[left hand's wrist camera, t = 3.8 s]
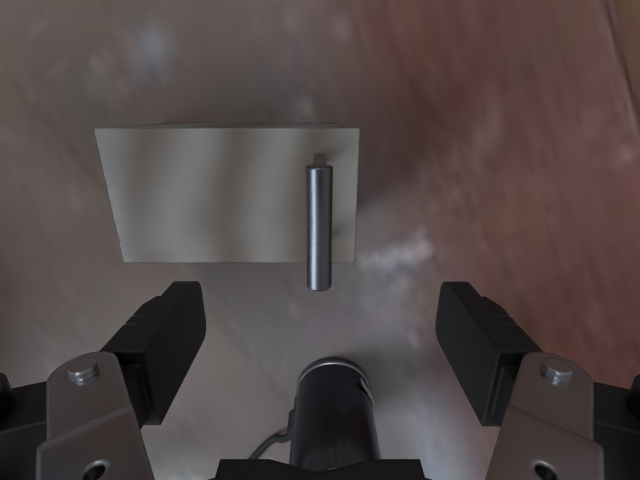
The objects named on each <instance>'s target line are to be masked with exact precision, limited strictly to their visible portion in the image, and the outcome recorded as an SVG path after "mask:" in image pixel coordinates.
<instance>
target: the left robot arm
mask: <svg viewBox="0 0 640 480" xmlns="http://www.w3.org/2000/svg"><path fill="white" fill-rule="evenodd" d="M205 333H206V318H205V311H204V304H203V297H202V290H201V285H200V283H199V282H198V281H174V282H173V283H172V284H171V285H170V286H169V287H168V289H167V290H166V291H165V292H164V293H163V294H162V296H156V297H154V298H153V299H151V300H149V301H148V302H146V303H144V304H143V305H142V306H141V307H140V308H139V309H138V310H137V311H136V312H135V313H134V314H133V317H131V318H130V319H129V320H128V321H127V322H126V325H123V326H122V327H121V328H120V330H119V331H118V332H117V333H116V334H115V335H114V336H113V337H112V338H111V339H110V340H109V341H108V343H107V344H106V345H105V346H104V347H103V348H102V349H101V350H100V351H99V352H92V353H87V354H84V355H81V356H78V357H76V358H74V359H71V360H69V361H68V362H66V363H64V364H63V365H61V366H60V367H58V368H57V369H56V370H55V371H54V372H53V373H52V374H51V375H50V377H49V378H48V380H47V381H46V382H41V383H36V384H31V385H27V386H22V387H17V388H13V389H11V386H10V384H9V381H8V379H7V377H6V375H5V374H3V373H0V480H155V479H154V475H153V472H152V469H151V465H150V462H149V459H148V455H147V452H146V449H145V445H144V442H143V439H142V435H141V432H140V430H141V428H142V426H143V425H161V423H162V421H163V419H164V417H165V415H166V413H167V411H168V409H169V407H170V405H171V403H172V401H173V399H174V398H175V396H176V394H177V392H178V390H179V388H180V386H181V384H182V382H183V380H184V378H185V376H186V374H187V372H188V370H189V368H190V366H191V364H192V362H193V360H194V358H195V356H196V354H197V352H198V350H199V349H200V347H201V345H202V343H203V341H204V338H205ZM436 335H437V339H438V342H439V344H440V346H441V348H442V350H443V351H444V353H445V355H446V357H447V359H448V361H449V363H450V365H451V367H452V369H453V371H454V373H455V375H456V377H457V379H458V381H459V382H460V384H461V386H462V388H463V390H464V392H465V394H466V396H467V398H468V400H469V402H470V404H471V406H472V408H473V410H474V411H475V413H476V415H477V417H478V419H479V421H480V423H481V425H482V426H500V428H501V429H500V432H499V435H498V439H497V442H496V445H495V449H494V452H493V455H492V459H491V462H490V465H489V469H488V472H487V475H486V479H485V480H640V374H639V375H637V376H636V377H635V379H634V381H633V384H632V386H631V388H630V389H625V388H620V387H616V386H611V385H606V384H601V383H597V382H593V380H592V378H591V377H590V375H589V374H588V373H587V372H586V371H585V370H584V369H583V368H582V367H580V366H579V365H577V364H576V363H574V362H572V361H571V360H569V359H566V358H564V357H562V356H559V355H556V354H553V353H548V352H543V351H542V350H541V349H540V348H539V347H538V346H537V345H536V344H535V343H534V342H533V340H532V339H531V338H530V337H529V336H528V335H527V334H526V333H525V332H524V331H523V330H522V329H521V328H520V327H519V326H517V323H516V322H515V321H514V320H513V319H512V318H511V317H509V315H508V314H507V313H506V312H505V310H504V309H503V308H502V307H501V306H500V305H498V304H497V303H495V302H493V301H492V300H490V299H488V298H487V297H481V296H480V295H479V294H478V293H477V291H476V290H475V289H474V288H473V287H472V286H471V285H470V283H468V282H443V283H442V285H441V289H440V296H439V303H438V310H437V317H436ZM371 400H372V401H373V403H374V398H373V396H372V395H371V393H370V388H369V382H368V379H367V376H366V374H365V373H364V371H363V370H362V369H361V368H360V367H359V366H357V365H356V364H354V363H352V362H350V361H348V360H344V359H339V358H328V359H322V360H319V361H316V362H314V363H312V364H311V365H309V366H308V367H307V368H305V369H304V370H303V372H302V373H301V375H300V376H299V379H298V382H297V396H296V397H295V402H294V409H292V410H291V411H290V412H289V419H288V429H287V434H284V435H278V434H276V435H273V436H272V437H270V438H268V439H267V440H266V441H265V442H263V443H262V444H261V445H260V446H259V447H258V448H257V450H256V451H255V452H254V453H253V454H252V455H251V457H250V458H249V459H220V462H219V466H218V469H217V473H216V476H215V478H212V479H208V480H432V479H428V478H425V476H424V473H423V469H422V466H421V462H420V459H381V455H380V450H379V444H378V438H377V433H376V427H375V421H374V416H373V410H372V404H371ZM374 404H375V403H374ZM289 440H291V447H290V459H289V464H285V463H281V462H278V461H274V460H270V459H257V458H258V457H259V456H260V455H261V454H262V453H263V452H264V451H265V450H266V449H267V448H268V447H269V446H270V445H272V444H273V443H275V442H279V443H284V442H287V441H289Z"/></svg>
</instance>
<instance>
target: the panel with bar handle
mask: <svg viewBox="0 0 640 480" xmlns="http://www.w3.org/2000/svg"><path fill="white" fill-rule="evenodd" d="M94 131H95V136H96V140H97V144H98V149H99V153H100V158H101V162H102V167H103V171H104V176H105V180H106V185H107V189H108V194H109V198H110V203H111V207H112V212H113V216H114V221H115V225H116V229H117V234H118V238H119V243H120V247H121V252H122V256H123V261H124V262H307V286H308V288H309V289H311V290H314V291H324V290H327V289H329V288H330V287H331V278H332V262H355V237H356V212H357V186H358V161H359V136H360V129H359V128H95V129H94Z"/></svg>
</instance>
